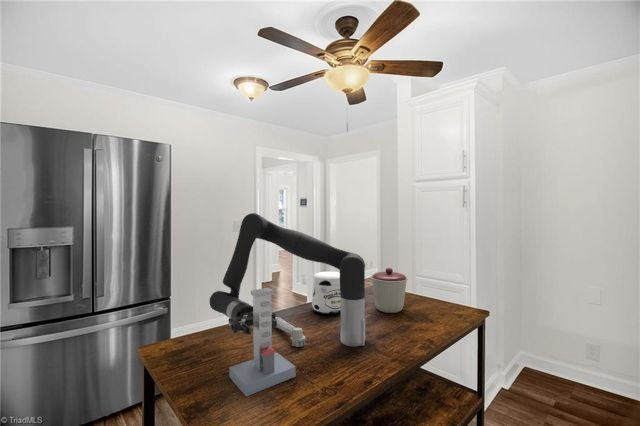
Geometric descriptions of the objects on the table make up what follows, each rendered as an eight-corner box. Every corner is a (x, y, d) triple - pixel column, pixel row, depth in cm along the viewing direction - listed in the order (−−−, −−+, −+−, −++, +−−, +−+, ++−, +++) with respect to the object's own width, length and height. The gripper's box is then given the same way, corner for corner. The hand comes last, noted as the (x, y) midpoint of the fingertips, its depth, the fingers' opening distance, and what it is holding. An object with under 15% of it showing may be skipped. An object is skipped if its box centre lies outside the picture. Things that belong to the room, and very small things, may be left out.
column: (267, 361, 95) (267, 287, 95) (275, 367, 91) (275, 290, 91) (251, 366, 92) (250, 290, 91) (258, 373, 88) (257, 294, 87)
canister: (370, 303, 162) (370, 264, 162) (405, 304, 160) (405, 264, 160) (371, 315, 144) (371, 271, 144) (410, 317, 142) (410, 272, 142)
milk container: (336, 319, 139) (336, 280, 138) (304, 312, 148) (304, 276, 147) (352, 309, 153) (352, 273, 153) (323, 303, 162) (323, 269, 162)
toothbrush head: (281, 315, 134) (307, 326, 113) (281, 330, 133) (308, 344, 112) (269, 317, 131) (294, 329, 110) (270, 333, 131) (295, 348, 109)
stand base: (276, 360, 102) (275, 332, 101) (295, 376, 92) (295, 345, 92) (229, 377, 92) (229, 345, 92) (246, 396, 82) (245, 361, 82)
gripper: (220, 306, 100) (240, 320, 87) (260, 298, 109) (283, 310, 96) (220, 329, 100) (240, 346, 87) (260, 319, 109) (283, 334, 96)
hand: (262, 327), depth 91 cm, fingers open, 8 cm apart
